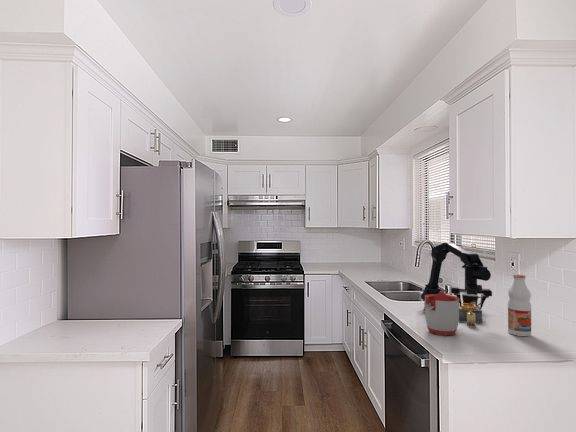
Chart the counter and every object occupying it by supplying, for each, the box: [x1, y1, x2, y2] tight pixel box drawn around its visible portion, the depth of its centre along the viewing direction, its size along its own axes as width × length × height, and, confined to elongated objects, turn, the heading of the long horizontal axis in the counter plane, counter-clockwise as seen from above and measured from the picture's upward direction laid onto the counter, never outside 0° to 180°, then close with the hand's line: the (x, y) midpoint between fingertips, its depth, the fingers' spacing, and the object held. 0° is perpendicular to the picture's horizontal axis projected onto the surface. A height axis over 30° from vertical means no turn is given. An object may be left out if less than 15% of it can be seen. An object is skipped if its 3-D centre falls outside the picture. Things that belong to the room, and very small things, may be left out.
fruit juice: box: [507, 274, 532, 337], centre depth 176 cm, size 9×9×28 cm
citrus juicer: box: [423, 290, 460, 337], centre depth 177 cm, size 16×17×20 cm
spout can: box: [466, 311, 476, 327], centre depth 190 cm, size 4×4×8 cm
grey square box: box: [459, 302, 483, 323], centre depth 203 cm, size 12×12×8 cm
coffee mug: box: [461, 292, 481, 307], centre depth 219 cm, size 12×9×10 cm
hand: (470, 308), depth 191 cm, fingers open, 9 cm apart
